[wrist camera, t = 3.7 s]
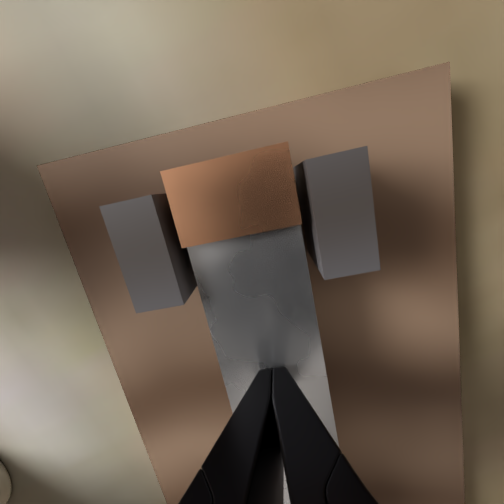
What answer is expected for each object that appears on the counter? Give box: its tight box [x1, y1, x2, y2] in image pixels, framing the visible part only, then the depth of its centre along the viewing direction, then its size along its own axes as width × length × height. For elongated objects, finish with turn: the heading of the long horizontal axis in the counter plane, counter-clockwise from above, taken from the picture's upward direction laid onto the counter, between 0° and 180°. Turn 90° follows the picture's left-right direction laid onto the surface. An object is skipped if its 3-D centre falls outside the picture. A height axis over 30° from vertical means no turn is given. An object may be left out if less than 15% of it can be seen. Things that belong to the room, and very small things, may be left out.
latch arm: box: [160, 141, 339, 504], centre depth 9 cm, size 19×4×2 cm, turn 12°
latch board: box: [37, 62, 465, 504], centre depth 11 cm, size 22×14×4 cm, turn 12°
